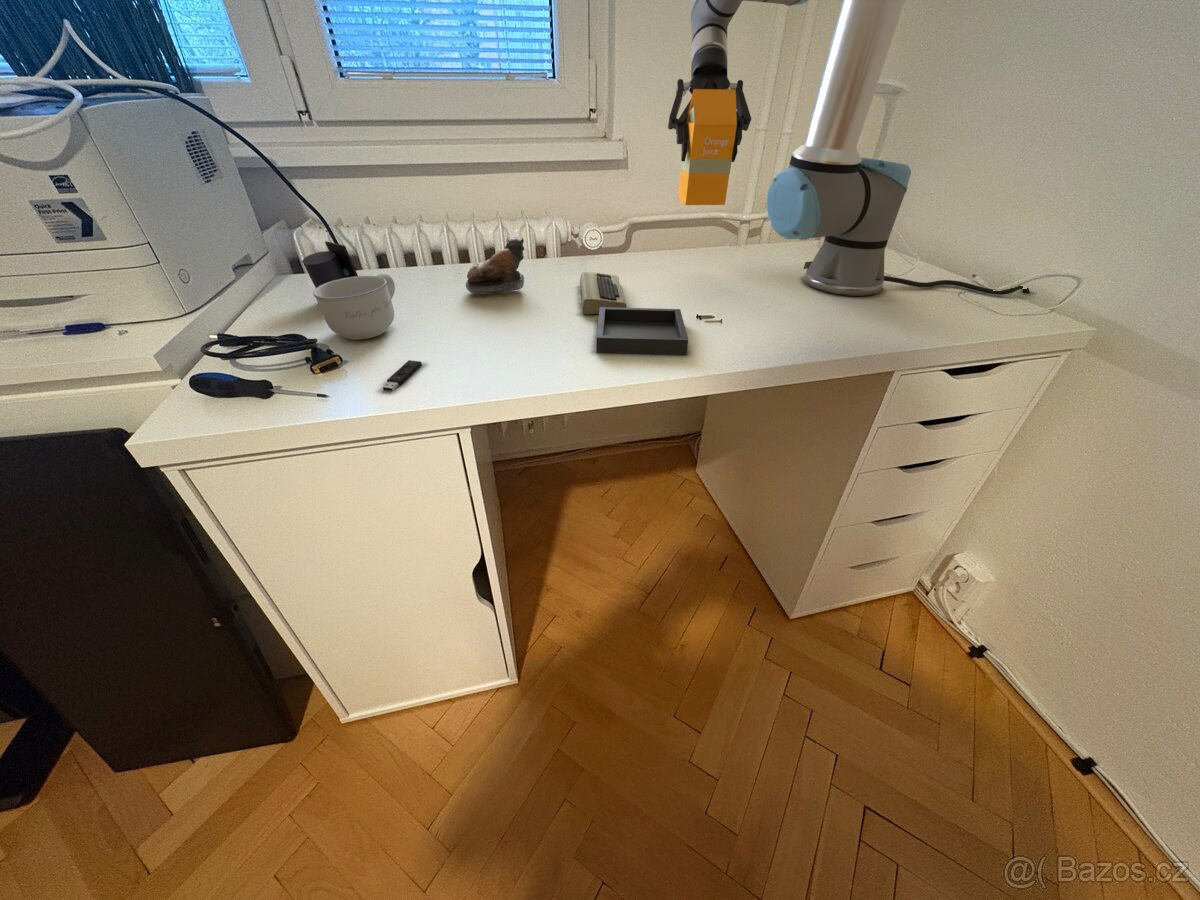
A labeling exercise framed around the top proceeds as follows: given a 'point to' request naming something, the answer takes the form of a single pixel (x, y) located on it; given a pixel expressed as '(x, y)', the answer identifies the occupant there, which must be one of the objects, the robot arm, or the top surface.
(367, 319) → the teacup
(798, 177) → the robot arm
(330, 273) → the speaker
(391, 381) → the usb flash drive
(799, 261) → the top surface
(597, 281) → the computer
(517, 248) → the bison figurine
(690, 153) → the orange juice
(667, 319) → the dark gray rectangular tray
